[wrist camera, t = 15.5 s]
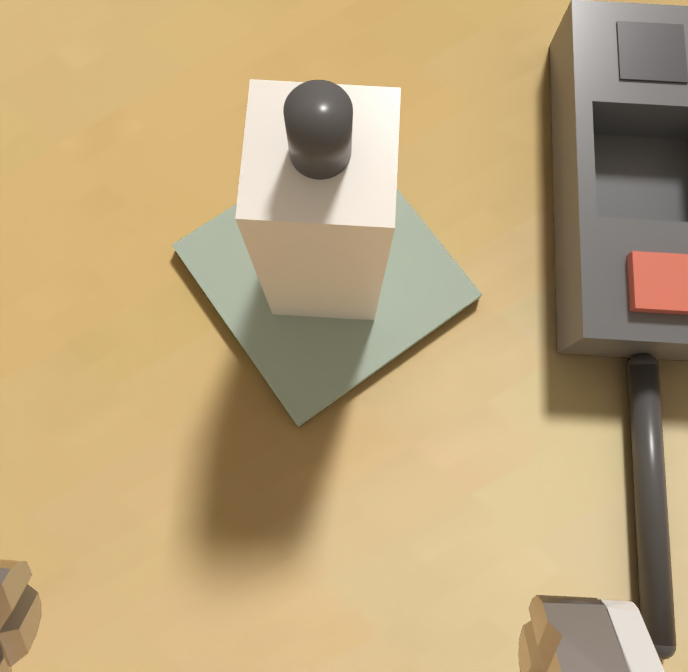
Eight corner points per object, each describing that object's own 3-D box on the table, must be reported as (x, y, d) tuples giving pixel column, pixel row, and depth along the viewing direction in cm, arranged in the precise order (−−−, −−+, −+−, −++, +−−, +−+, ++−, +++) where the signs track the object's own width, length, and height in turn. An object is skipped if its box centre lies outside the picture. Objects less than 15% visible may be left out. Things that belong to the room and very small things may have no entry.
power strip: (739, 660, 24) (804, 688, 21) (564, 649, 24) (600, 676, 21) (687, 52, 31) (731, -1, 28) (549, 45, 31) (575, -9, 28)
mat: (298, 427, 26) (297, 426, 26) (175, 250, 28) (171, 245, 28) (479, 298, 28) (482, 294, 27) (350, 138, 30) (350, 131, 29)
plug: (374, 320, 27) (402, 194, 15) (272, 314, 27) (222, 184, 15) (378, 225, 28) (408, 40, 16) (280, 219, 28) (239, 31, 16)
